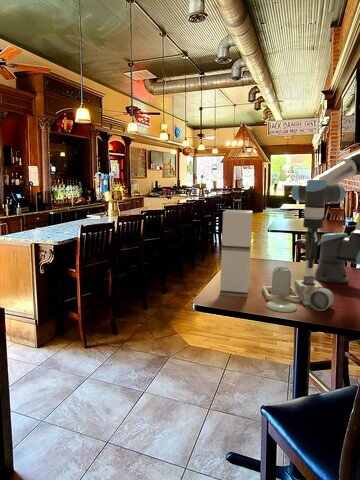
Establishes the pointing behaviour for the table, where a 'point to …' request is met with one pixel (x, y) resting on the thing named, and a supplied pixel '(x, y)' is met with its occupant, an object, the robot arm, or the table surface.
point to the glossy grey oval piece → (308, 280)
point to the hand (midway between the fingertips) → (308, 274)
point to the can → (281, 281)
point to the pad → (281, 306)
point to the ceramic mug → (320, 299)
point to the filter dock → (293, 292)
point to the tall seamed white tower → (236, 253)
